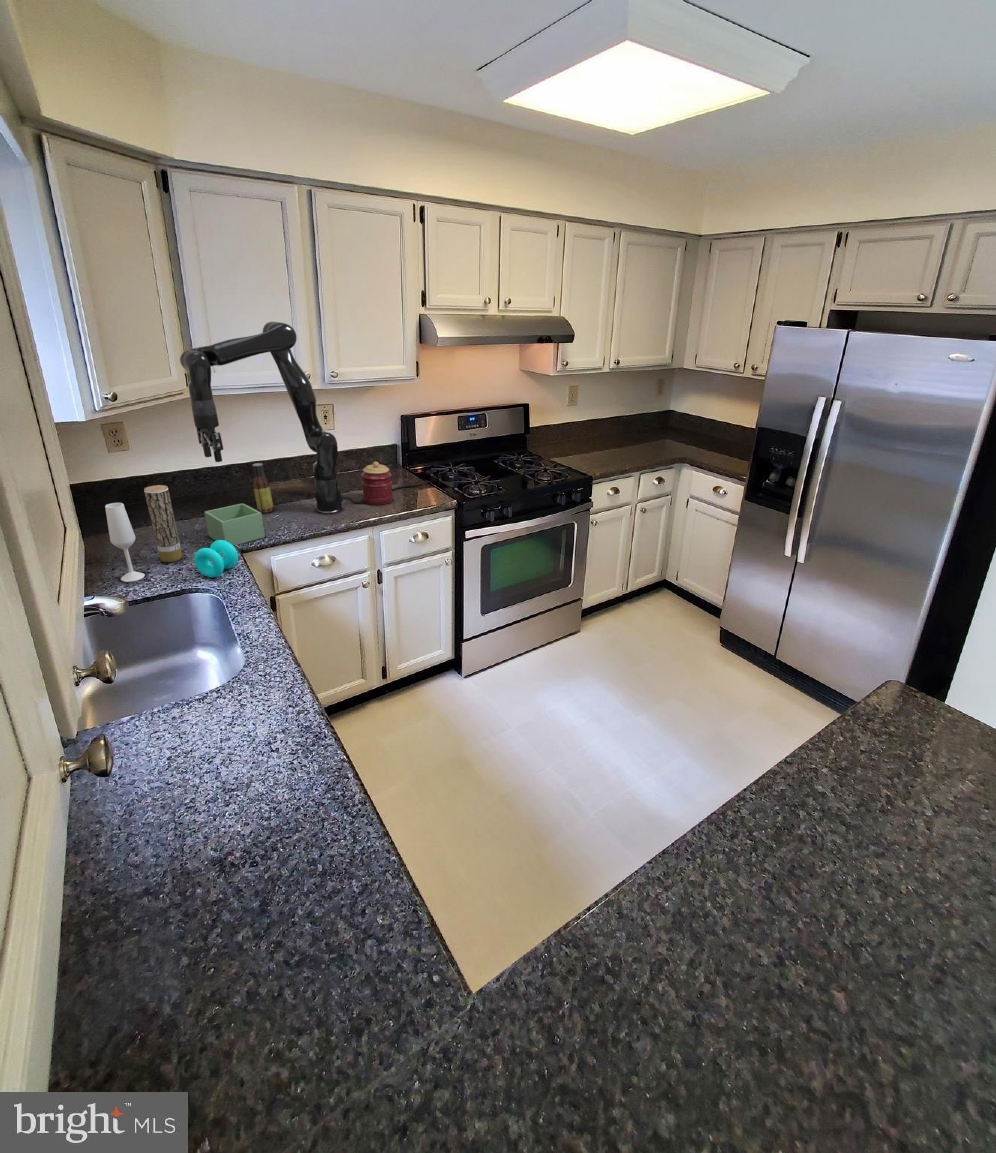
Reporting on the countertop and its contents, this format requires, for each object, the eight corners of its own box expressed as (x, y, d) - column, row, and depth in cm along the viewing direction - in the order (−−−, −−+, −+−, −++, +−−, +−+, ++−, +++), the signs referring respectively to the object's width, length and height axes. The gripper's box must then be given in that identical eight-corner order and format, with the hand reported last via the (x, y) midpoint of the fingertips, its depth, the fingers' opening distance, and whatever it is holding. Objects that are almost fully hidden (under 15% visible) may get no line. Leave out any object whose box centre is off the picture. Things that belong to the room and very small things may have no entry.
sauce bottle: (276, 509, 250) (270, 462, 242) (269, 514, 245) (263, 466, 236) (261, 508, 251) (254, 461, 242) (254, 513, 245) (247, 465, 236)
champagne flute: (119, 575, 190) (100, 504, 180) (143, 570, 194) (125, 500, 183) (122, 583, 185) (102, 510, 175) (146, 578, 189) (128, 506, 179)
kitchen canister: (356, 501, 263) (353, 461, 255) (377, 494, 273) (375, 456, 265) (377, 507, 256) (375, 467, 249) (398, 500, 266) (397, 461, 258)
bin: (246, 526, 231) (243, 503, 227) (264, 537, 223) (261, 513, 218) (208, 535, 222) (204, 511, 218) (226, 547, 213) (221, 522, 209)
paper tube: (160, 564, 198) (143, 492, 187) (160, 556, 204) (144, 486, 193) (183, 561, 201) (168, 490, 190) (182, 553, 207) (167, 484, 196)
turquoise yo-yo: (195, 576, 192) (189, 548, 187) (216, 564, 200) (211, 536, 196) (222, 581, 189) (216, 552, 185) (242, 568, 198) (237, 540, 194)
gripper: (224, 414, 201) (233, 461, 209) (206, 408, 210) (215, 453, 217) (202, 417, 196) (211, 465, 204) (184, 410, 205) (194, 457, 212)
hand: (213, 459), depth 210 cm, fingers open, 8 cm apart
